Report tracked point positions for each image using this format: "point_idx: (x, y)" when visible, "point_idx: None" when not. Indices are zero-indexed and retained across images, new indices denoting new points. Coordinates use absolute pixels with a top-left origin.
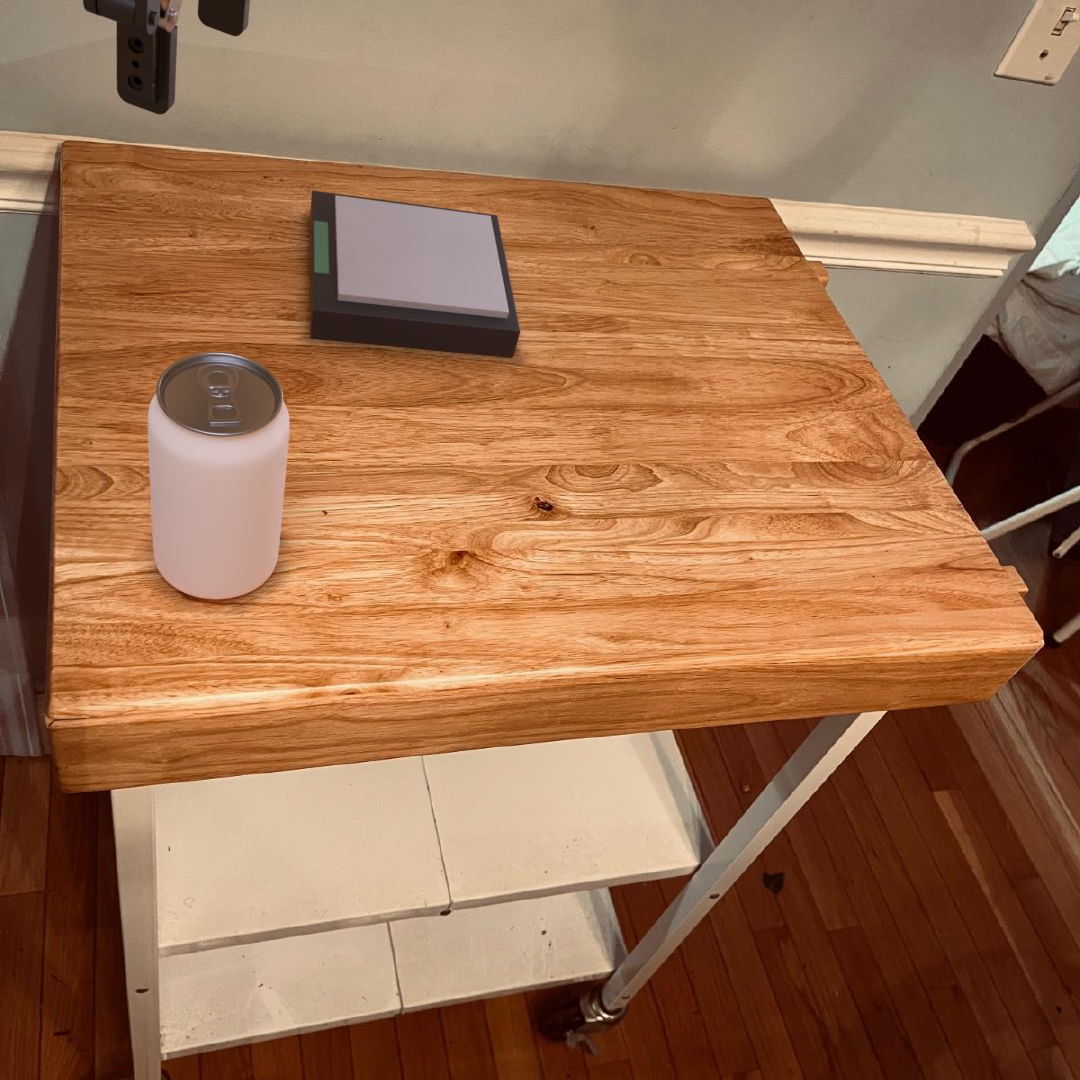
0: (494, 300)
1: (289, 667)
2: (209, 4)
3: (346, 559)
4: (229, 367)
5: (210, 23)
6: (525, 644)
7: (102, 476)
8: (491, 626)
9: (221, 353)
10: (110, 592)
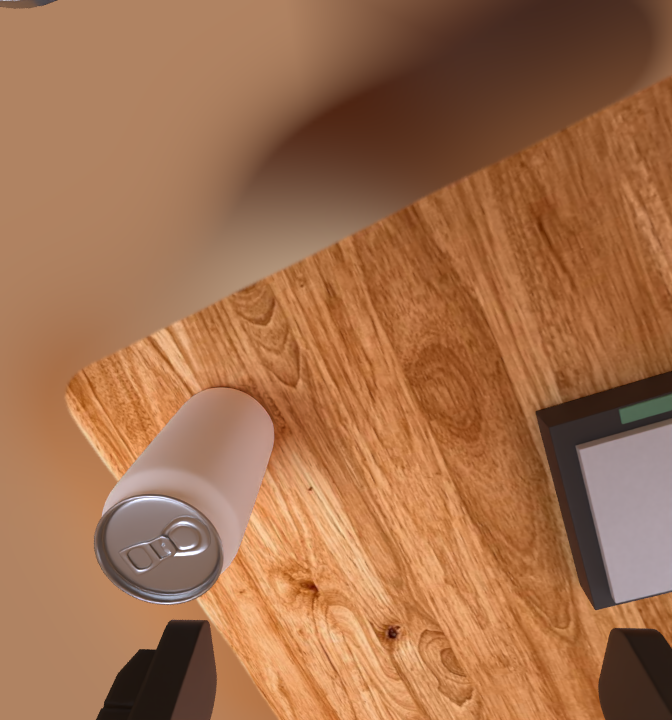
0: (631, 588)
1: None
2: (636, 690)
3: (269, 516)
4: (208, 540)
5: (614, 648)
6: (249, 639)
7: (268, 313)
8: (254, 617)
9: (214, 534)
10: (157, 372)
